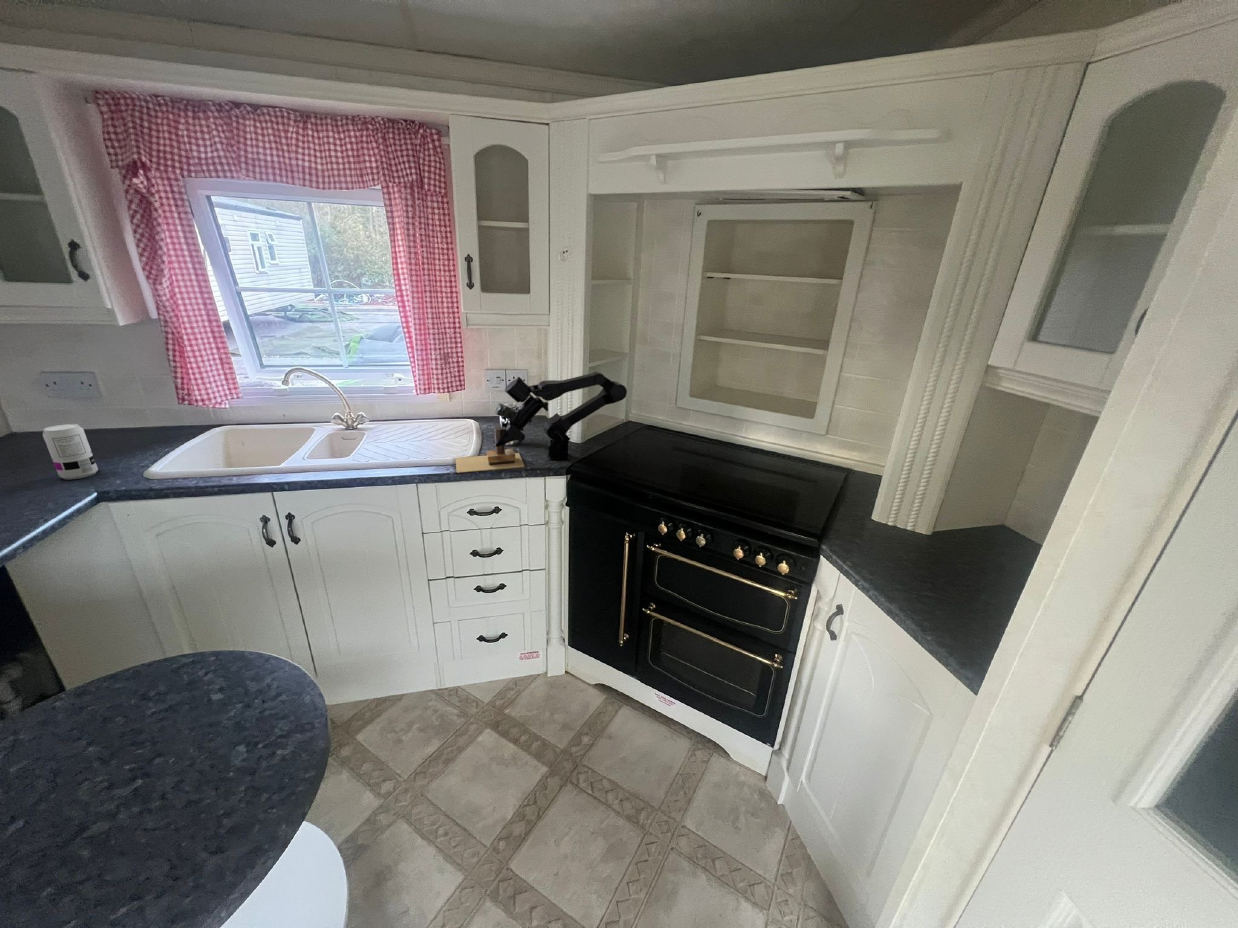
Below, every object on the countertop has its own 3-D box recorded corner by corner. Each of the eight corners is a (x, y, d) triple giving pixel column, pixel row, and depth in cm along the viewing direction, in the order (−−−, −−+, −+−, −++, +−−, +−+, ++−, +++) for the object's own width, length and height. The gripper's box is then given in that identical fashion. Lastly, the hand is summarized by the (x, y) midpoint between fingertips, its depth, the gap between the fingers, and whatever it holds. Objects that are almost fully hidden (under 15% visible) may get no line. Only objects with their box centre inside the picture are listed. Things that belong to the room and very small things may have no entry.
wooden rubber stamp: (513, 457, 174) (511, 425, 170) (515, 463, 169) (513, 430, 165) (486, 459, 171) (484, 427, 167) (488, 465, 166) (486, 432, 162)
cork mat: (518, 453, 179) (518, 452, 179) (524, 467, 167) (524, 466, 167) (455, 458, 172) (455, 457, 172) (456, 473, 160) (456, 472, 160)
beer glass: (521, 441, 193) (520, 403, 187) (516, 446, 186) (514, 408, 181) (504, 439, 193) (502, 402, 188) (498, 445, 187) (496, 406, 181)
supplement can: (51, 480, 144) (31, 431, 139) (75, 470, 152) (57, 423, 146) (83, 479, 145) (65, 431, 140) (106, 469, 153) (89, 423, 148)
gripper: (505, 389, 172) (475, 422, 172) (513, 402, 155) (479, 438, 156) (529, 410, 177) (499, 441, 177) (538, 424, 160) (505, 459, 161)
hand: (495, 444), depth 168 cm, fingers closed on wooden rubber stamp, 3 cm apart
